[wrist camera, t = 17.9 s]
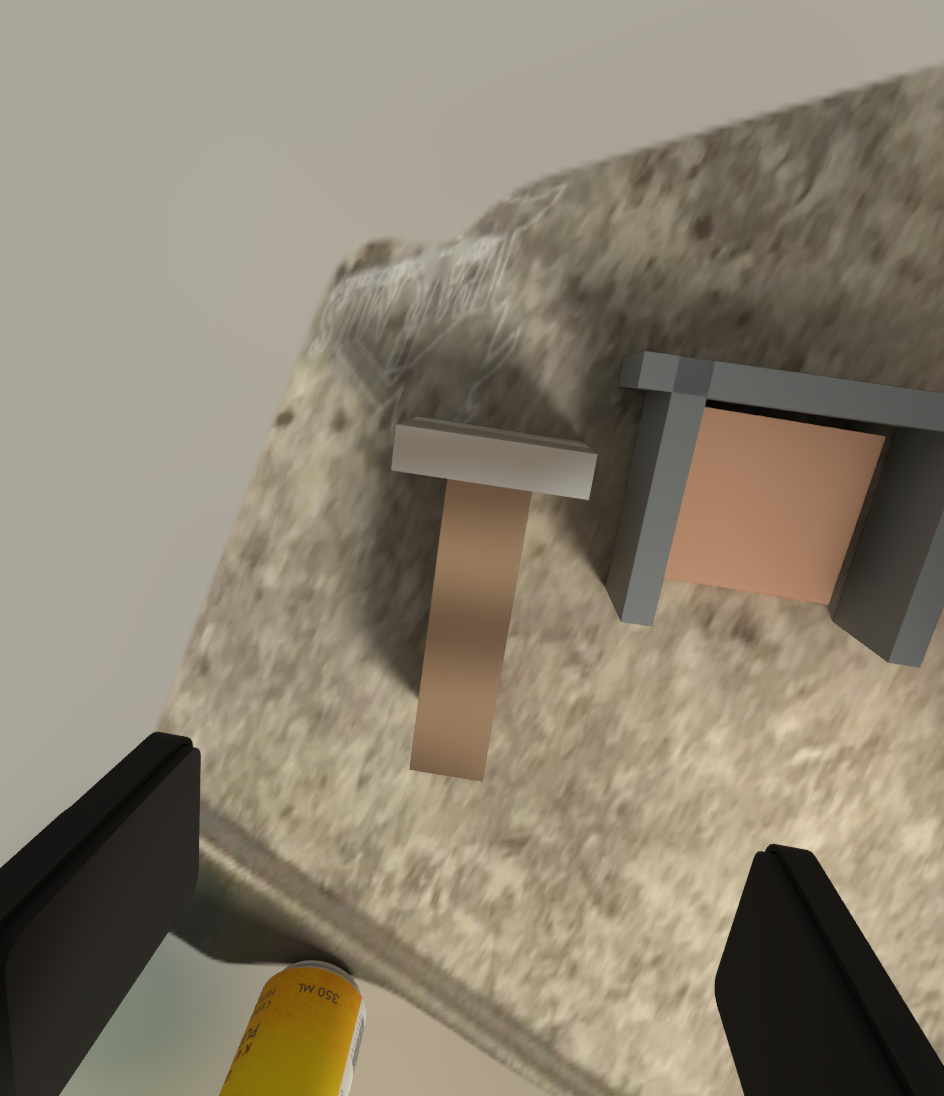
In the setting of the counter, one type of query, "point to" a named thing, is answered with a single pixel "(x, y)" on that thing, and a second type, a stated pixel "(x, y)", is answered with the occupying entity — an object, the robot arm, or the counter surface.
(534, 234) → the counter surface
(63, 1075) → the robot arm
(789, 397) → the bay
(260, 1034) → the beer can
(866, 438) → the tile
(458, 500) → the scraper
